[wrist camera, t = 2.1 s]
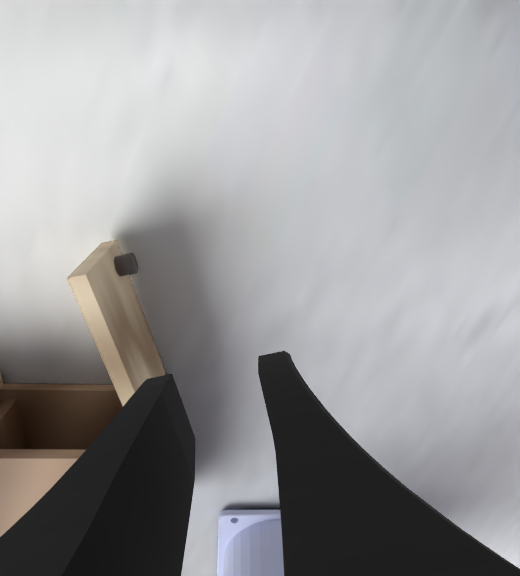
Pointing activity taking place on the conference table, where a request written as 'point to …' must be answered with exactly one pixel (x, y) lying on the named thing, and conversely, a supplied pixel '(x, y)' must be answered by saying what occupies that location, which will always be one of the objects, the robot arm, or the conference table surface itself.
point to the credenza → (45, 437)
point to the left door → (116, 317)
